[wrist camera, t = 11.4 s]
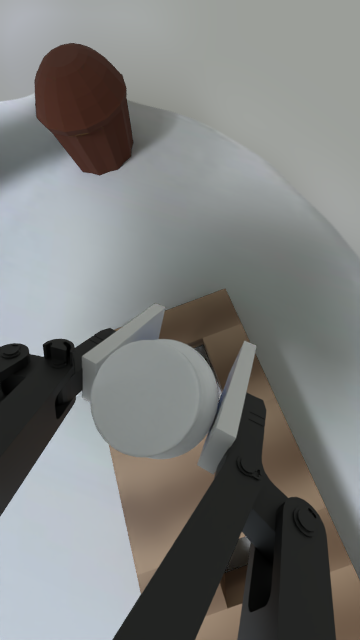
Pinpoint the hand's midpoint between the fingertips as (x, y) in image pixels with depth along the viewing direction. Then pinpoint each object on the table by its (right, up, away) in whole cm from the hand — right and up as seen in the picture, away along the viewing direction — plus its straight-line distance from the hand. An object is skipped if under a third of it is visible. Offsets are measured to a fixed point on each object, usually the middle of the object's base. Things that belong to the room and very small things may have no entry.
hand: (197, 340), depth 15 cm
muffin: (-12, +26, +19) cm, 34 cm away
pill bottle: (-1, -4, +3) cm, 5 cm away
